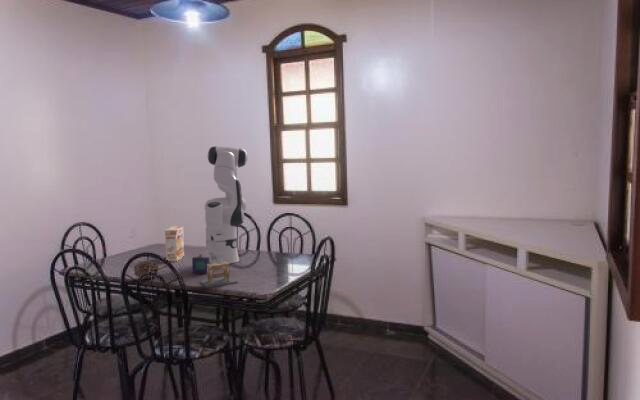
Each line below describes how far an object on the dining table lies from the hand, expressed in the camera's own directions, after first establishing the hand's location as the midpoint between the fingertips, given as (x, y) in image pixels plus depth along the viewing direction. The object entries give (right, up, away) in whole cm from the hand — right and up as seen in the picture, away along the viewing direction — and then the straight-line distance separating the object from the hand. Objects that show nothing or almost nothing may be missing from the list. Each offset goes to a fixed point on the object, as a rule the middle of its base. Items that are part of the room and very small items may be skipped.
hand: (215, 261), depth 235 cm
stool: (+5, -5, +3) cm, 8 cm away
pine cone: (-36, -10, +13) cm, 40 cm away
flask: (-12, -9, +20) cm, 26 cm away
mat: (+1, -11, +2) cm, 11 cm away
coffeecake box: (-37, -6, +54) cm, 66 cm away
